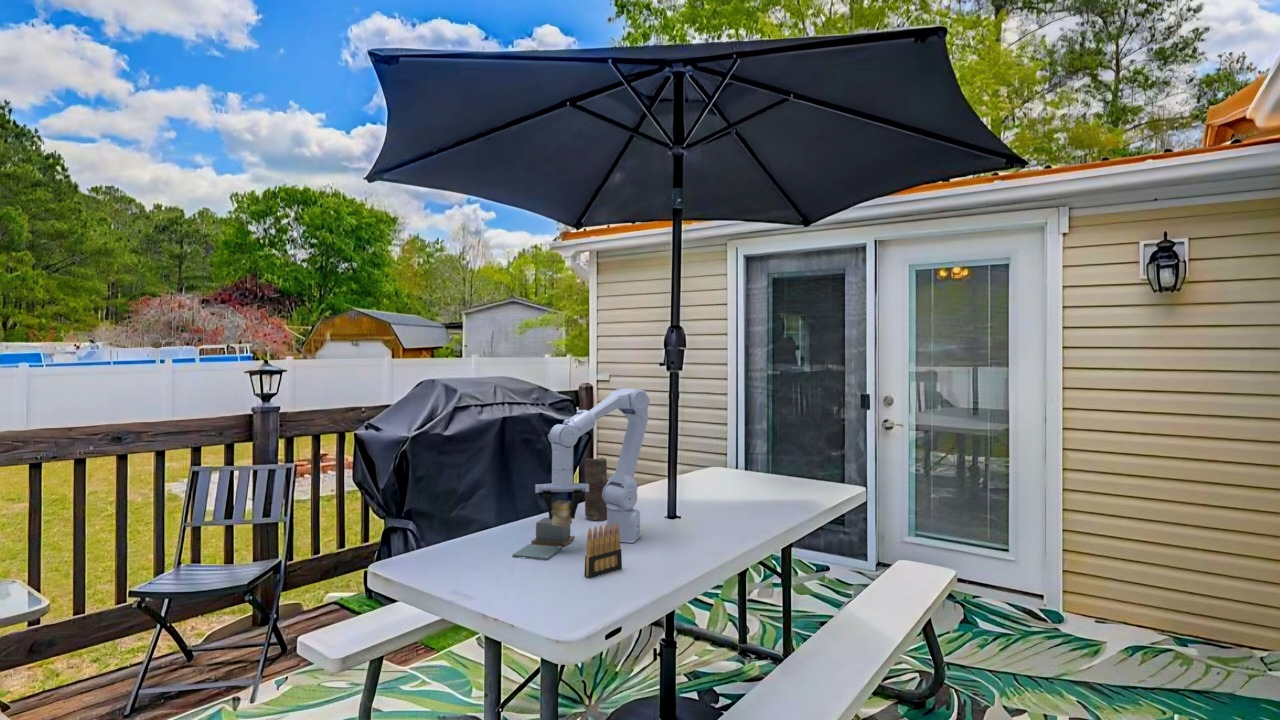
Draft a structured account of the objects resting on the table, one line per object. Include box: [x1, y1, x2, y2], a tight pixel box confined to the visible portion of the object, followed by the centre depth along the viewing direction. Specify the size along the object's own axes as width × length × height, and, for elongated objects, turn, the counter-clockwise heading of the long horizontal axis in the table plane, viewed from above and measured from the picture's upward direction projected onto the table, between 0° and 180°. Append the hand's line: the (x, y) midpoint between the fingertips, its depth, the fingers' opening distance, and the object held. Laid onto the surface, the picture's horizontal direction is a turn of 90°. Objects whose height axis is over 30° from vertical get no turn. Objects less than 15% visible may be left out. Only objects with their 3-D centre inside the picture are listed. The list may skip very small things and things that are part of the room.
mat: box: [512, 543, 563, 561], centre depth 182 cm, size 10×10×1 cm
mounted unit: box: [530, 517, 576, 548], centre depth 193 cm, size 10×8×6 cm
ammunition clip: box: [583, 522, 623, 579], centre depth 167 cm, size 11×2×12 cm, turn 133°
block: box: [552, 499, 573, 527], centre depth 184 cm, size 4×4×6 cm
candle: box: [584, 457, 608, 522], centre depth 220 cm, size 8×7×20 cm
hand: (561, 518), depth 184 cm, fingers closed on block, 5 cm apart
